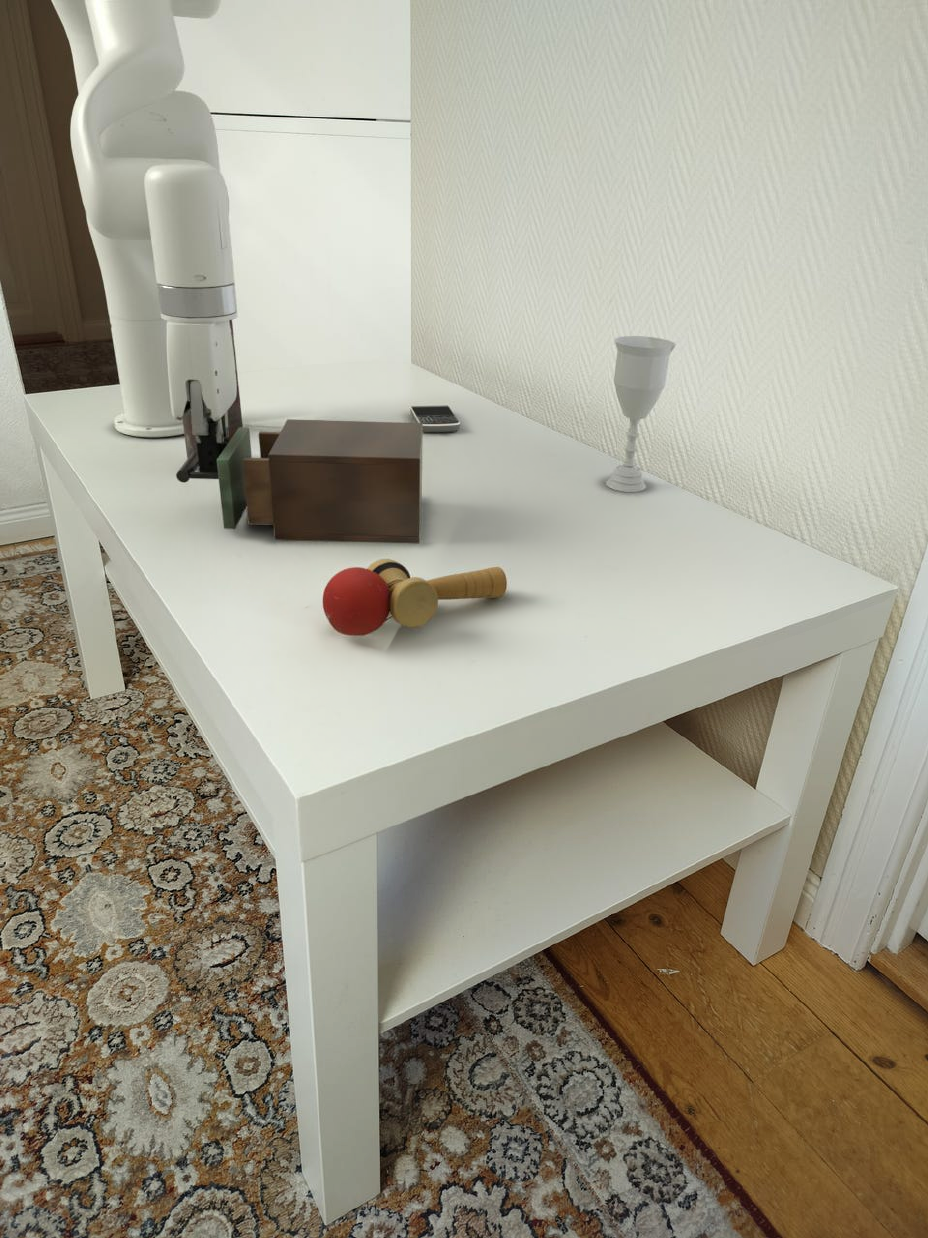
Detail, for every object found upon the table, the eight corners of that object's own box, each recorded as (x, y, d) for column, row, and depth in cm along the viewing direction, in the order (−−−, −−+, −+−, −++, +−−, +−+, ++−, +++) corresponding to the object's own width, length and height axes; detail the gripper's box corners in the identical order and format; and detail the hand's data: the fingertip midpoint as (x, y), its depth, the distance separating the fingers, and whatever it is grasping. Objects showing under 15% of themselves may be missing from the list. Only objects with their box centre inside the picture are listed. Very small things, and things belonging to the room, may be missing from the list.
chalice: (660, 482, 115) (681, 340, 107) (647, 498, 110) (668, 351, 101) (606, 472, 118) (622, 333, 109) (590, 488, 113) (606, 343, 104)
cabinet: (274, 540, 95) (268, 454, 91) (292, 497, 106) (287, 418, 102) (419, 543, 96) (420, 458, 91) (421, 500, 107) (422, 422, 102)
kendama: (468, 588, 90) (303, 606, 80) (484, 535, 86) (313, 546, 76) (508, 633, 85) (337, 658, 75) (527, 579, 81) (350, 597, 71)
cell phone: (420, 434, 130) (420, 425, 129) (408, 413, 139) (408, 404, 138) (461, 433, 131) (461, 424, 130) (447, 412, 140) (447, 403, 140)
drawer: (175, 527, 95) (165, 458, 91) (200, 489, 105) (193, 425, 101) (358, 532, 96) (356, 463, 92) (366, 494, 106) (365, 430, 102)
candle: (231, 479, 111) (214, 313, 101) (177, 473, 112) (155, 308, 102) (255, 460, 118) (242, 302, 108) (204, 454, 119) (186, 298, 109)
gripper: (180, 289, 96) (199, 452, 104) (137, 314, 83) (163, 498, 91) (250, 291, 96) (263, 454, 105) (218, 316, 83) (236, 500, 92)
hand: (216, 474), depth 98 cm, fingers closed
